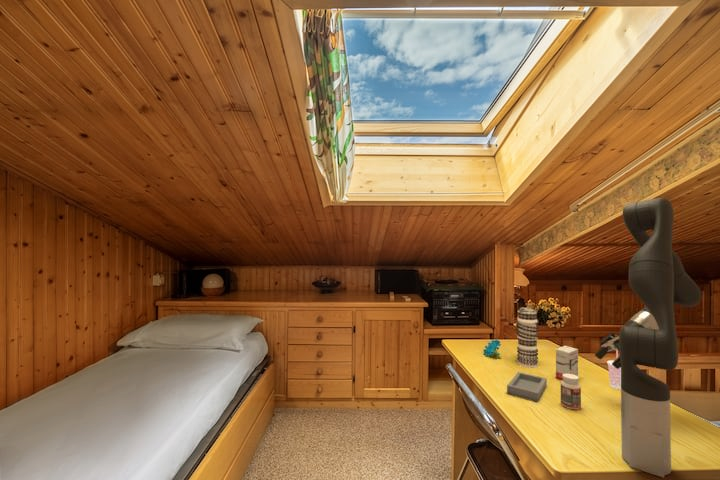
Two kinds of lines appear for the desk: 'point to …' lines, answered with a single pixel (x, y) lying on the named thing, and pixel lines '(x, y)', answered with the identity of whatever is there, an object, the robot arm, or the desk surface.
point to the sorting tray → (527, 386)
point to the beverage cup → (614, 374)
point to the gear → (492, 348)
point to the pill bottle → (570, 391)
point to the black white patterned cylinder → (527, 337)
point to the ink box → (566, 361)
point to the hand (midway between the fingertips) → (605, 361)
